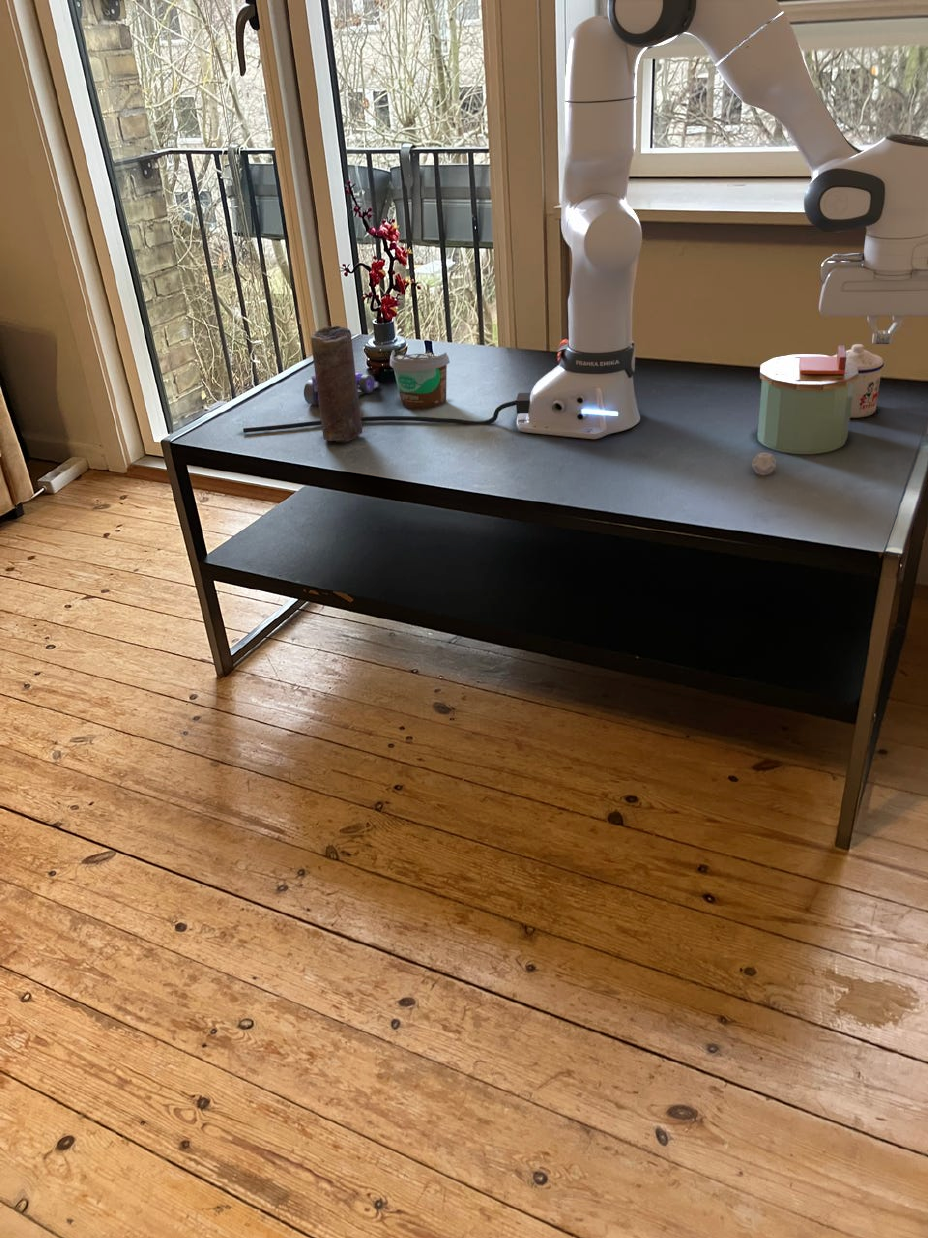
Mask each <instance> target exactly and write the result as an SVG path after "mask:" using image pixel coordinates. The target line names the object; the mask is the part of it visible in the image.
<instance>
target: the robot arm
mask: <svg viewBox="0 0 928 1238" xmlns="http://www.w3.org/2000/svg"><path fill="white" fill-rule="evenodd" d="M683 34H687V35H691V36H692V37H694V38H696V39H697V40H698V41H699V43H700V44H701V46H703V48H704V49H705V51H706V52H707V54H708V55H709V58H710V59H711V61H712V63H713V64H714V66H715V68H716V70H717V71H718V73H719V74H720V76H721V78H722V79H723V81H724V82H725V84H726V85H727V86H728V87H729V88H730V90H731V91H732V92H733V93H734V94H735V95H736V96H737V98H738V99H739V100H740V101H741V102H742V103H743V104H745V105H747V106H750V107H752V108H755V109H758V110H760V111H763V112H765V113H766V114H769V115H770V116H772V117H773V118H774V119H776V120H777V121H778V122H779V123H780V125H781V126H782V127H783V128H784V129H785V131H786V133H787V134H788V137H789V138H790V139H791V140H792V142H793V144H794V145H795V147H796V149H797V150H798V152H799V154H800V155H801V157H802V158H803V160H804V161H805V163H806V165H807V166H808V169H809V171H810V175H811V181H810V183H809V185H808V187H807V188H806V191H805V193H804V198H803V209H804V213H805V216H806V219H807V220H808V221H809V223H810V224H811V225H812V226H813V227H814V228H815V229H818V230H819V231H822V232H824V233H825V232H826V233H843V232H847V231H853V230H858V229H859V230H860V229H862V228H865V229H866V232H865V240H864V247H863V253H861V252H860V253H847V254H842V253H835V254H832V256H830V257H827V258H826V259H825V260H823V262H822V263H821V266H820V272H819V273H820V274H819V278H820V281H821V283H822V287H821V291H820V296H819V301H818V311H819V313H820V314H821V315H822V316H823V317H824V318H828V317H829V318H835V317H837V318H838V317H839V318H841V317H847V318H849V317H850V318H851V317H852V318H853V317H867V323H868V326H869V327H870V330H871V332H872V338H871V341H872V342H871V343H872V345H893V342H894V335H895V334H896V333H897V332H898V330H899V329H900V328H901V326H902V325H903V324H904V319H905V317H928V139H927V138H924V137H922V136H918V135H912V134H906V133H905V134H904V133H903V134H902V133H901V134H898V133H894V134H889V135H886V136H884V137H883V138H882V139H881V140H880V141H879V142H877V143H875V144H873V145H872V146H870V147H869V148H867V149H865V150H861V149H859V148H858V147H856V146H854V145H853V144H852V143H851V142H850V141H849V140H848V139H847V138H846V137H845V135H844V134H843V132H842V131H841V129H840V127H839V125H838V124H837V123H836V121H835V119H834V118H833V116H832V115H831V113H830V111H829V109H828V108H827V107H826V105H825V103H824V101H823V99H822V97H821V96H820V94H819V93H818V91H817V89H816V87H815V84H814V82H813V79H812V77H811V74H810V70H809V68H808V65H807V62H806V59H805V55H804V53H803V50H802V48H801V45H800V42H799V40H798V38H797V35H796V33H795V31H794V29H793V27H792V25H791V23H790V20H789V19H788V17H787V15H786V13H785V12H784V10H783V8H782V6H781V5H780V3H779V2H778V0H607V13H606V14H599V15H595V16H592V17H588V18H587V19H584V20H583V21H581V22H580V23H579V24H578V25H577V26H576V27H575V28H574V29H573V31H572V33H571V36H570V39H569V46H568V51H567V57H566V58H567V59H566V60H567V61H566V67H565V69H566V70H565V82H564V84H565V85H564V119H565V120H564V122H565V123H564V127H565V129H564V130H565V131H564V133H565V135H564V136H565V138H564V139H565V141H564V144H565V152H564V153H565V156H564V168H563V180H562V181H563V182H562V189H561V190H562V193H561V208H560V209H561V211H560V212H561V213H560V215H561V216H560V229H561V234H562V237H563V240H564V241H565V243H566V244H567V245H568V247H569V248H570V251H571V259H572V260H571V261H572V263H571V280H570V288H569V295H568V298H567V313H568V314H567V315H568V321H567V322H568V339H567V338H565V339H562V340H561V341H560V343H559V345H558V350H557V363H558V365H556V366H555V367H554V368H552V370H550V371H549V372H547V373H546V374H545V375H543V376H542V377H541V378H539V380H538V381H537V382H536V383H535V384H534V386H533V387H532V389H531V391H530V392H518V393H517V395H516V399H515V400H511V401H508V402H504V403H501V404H500V405H498V406H497V407H496V408H495V409H494V411H493V414H492V417H491V418H488V419H486V420H482V421H475V420H469V419H468V420H467V419H462V418H453V417H452V418H451V417H449V418H448V417H434V416H433V417H432V416H421V415H420V416H418V415H372V416H371V415H370V416H369V415H367V416H361V422H377V421H379V422H380V421H381V422H382V421H396V422H397V421H402V422H404V421H405V422H427V423H439V424H441V423H442V424H457V425H465V426H481V425H491V424H492V423H495V422H496V421H497V420H498V417H499V413H500V412H501V411H502V410H504V409H507V408H510V407H515V408H516V414H518V415H517V418H516V428H517V429H518V430H519V431H520V432H522V433H530V434H540V435H548V436H556V437H557V436H559V437H569V438H578V439H586V440H587V439H589V440H597V439H601V438H604V437H605V436H608V435H611V434H614V433H619V432H623V431H627V430H629V429H632V428H633V427H635V426H636V425H638V423H640V421H641V415H640V412H639V408H638V404H637V399H636V394H635V393H636V392H635V386H634V374H635V369H636V350H635V342H634V341H633V301H634V291H635V284H636V279H637V271H638V266H639V265H638V264H639V257H640V251H641V249H642V245H643V232H642V231H643V230H642V226H641V222H640V220H639V217H638V215H637V214H636V212H635V210H634V209H633V208H632V207H630V206H629V205H628V200H627V199H628V197H627V196H628V186H629V181H630V174H631V167H632V163H633V158H634V156H635V152H636V120H637V119H636V118H637V116H636V115H637V113H636V112H637V75H638V74H637V73H638V65H639V62H640V58H641V56H642V54H643V53H644V52H645V51H646V50H649V49H652V48H654V47H658V46H662V45H665V44H667V43H669V42H671V41H673V40H675V39H676V38H678V37H680V36H681V35H683ZM879 317H892V322H893V323H892V324H891V326H890V327H889V329H886V330H881V329H880V330H878V328H877V325H876V324H877V323H879V322H878V321H879V319H880V318H879ZM314 426H322V424H321V419H320V420H311V421H303V422H293V423H284V424H275V425H274V424H273V425H265V426H264V425H263V426H253V427H251V426H250V427H242V432H243V434H244V433H247V434H248V433H256V432H257V433H258V432H268V431H279V430H288V429H297V428H305V427H314Z"/></svg>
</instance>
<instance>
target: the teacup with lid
mask: <svg viewBox="0 0 928 1238" xmlns="http://www.w3.org/2000/svg"><path fill="white" fill-rule="evenodd" d="M845 351H846V357H847V358H846V360H847V361H849V362H851V363H853V364H855V365H857V368H858V373H859V374H858V379H857V380H855V382H854V389H853V397H852V404H851V412H850V419H856V418H865V417H868V416H871V415H872V414H874V413H875V412H876V410H877V403H878V399H879V397H878V396H879V391H880V382H881V376H882V371H883V368H884V366H885V364H884V360H883V358H882V356H879V355H877V354H874V353H871V352H870V351H868V350H866V349H865V345H863V344H860V343H854V344H852V345H851V348H850V349H848V350H845ZM831 356H832V357H837V353H836V354H834V355H831Z"/></svg>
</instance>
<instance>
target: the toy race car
mask: <svg viewBox="0 0 928 1238" xmlns="http://www.w3.org/2000/svg"><path fill="white" fill-rule="evenodd" d="M355 374H356V382H357V389H358V388H359V391H358V398H359V397H360V396H362V395H363V394H371V393H373V391H374V389H376V388H378V387H379V382H378V381H375V377H374V376H373V375H371V374H365V373H364V374H363V373H360V372H355ZM303 397H304V401H305V402H306V403H307V404H309V405H313V406H314V405H316V406H319V399H318V391H317V383H316V376H315V374H313V375H311V379H309V380H308V381H307V382H306V383H305V384H304V387H303Z"/></svg>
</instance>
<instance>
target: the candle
mask: <svg viewBox="0 0 928 1238" xmlns="http://www.w3.org/2000/svg"><path fill="white" fill-rule="evenodd" d="M310 345H311V353H312V359H313V360H312V361H313V366H314V368H313V369H314V375H315V376H316V383H317V391H318V399H319V405H318V407H319V415H320V416H319V417H320V420H321V424H322V425H321V431H322V438H323V440H325V441H326V442H336V443H337V442H338V443H349V441H352V440H354V439H355V438H356V437H358V436H360V435H361V434H363V423H362V421H361V417H362V415H361V414H362V413H361V405H360V400H359V397H358V392H359V391H358V389H357V388H358V386H357V382H356V374H355V373H356V367H355V366H356V365H355V357H354V349H353V339H352V332H351V329H349V328H348V327H345V326H339V325H334V326H325V327H322V328H319V329H318V330H316V331H314V332H313V334H311V337H310Z"/></svg>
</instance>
